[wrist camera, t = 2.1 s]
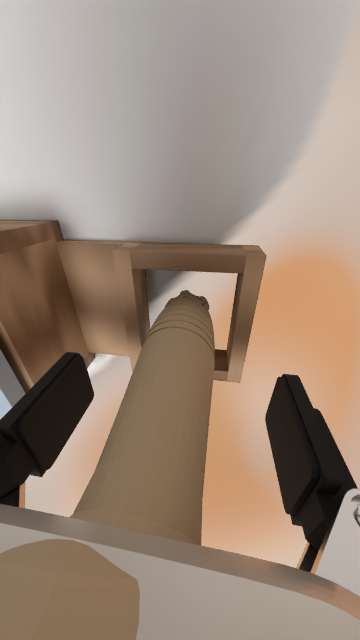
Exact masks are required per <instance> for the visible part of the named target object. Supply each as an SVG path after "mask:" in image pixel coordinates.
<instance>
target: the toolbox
mask: <svg viewBox="0 0 360 640" xmlns="http://www.w3.org/2000/svg"><path fill="white" fill-rule="evenodd" d="M265 260H266V255H265V253H264V252H263V251H262V250H261V248H260V247H259V246H254V245H252V246H251V245H217V244H181V243H145V242H108V241H72V240H63V237H62V234H61V230H60V227H59V223H58V221H42V220H0V349H1V351H2V353H3V355H4V356H5V358H6V360H7V362H8V363H9V365H10V367H11V369H12V371H13V372H14V374H15V376H16V378H17V379H18V381H19V383H20V385H21V386H22V388H23V390H24V392H25V394H26V393H27V392H28V391H29V390H30V389H31V388H32V387H33V386H34V385H35V383H36V382H37V381H38V380H39V379H40V378H41V377H42V376H43V375H44V374H45V373H46V372H47V371H48V370H49V369H50V368H51V367H52V366H53V365H54V364H55V363H56V362H57V361H58V360H59V359H60V358H61V357H62V356H63V355H64V354H65V353H66V352H74V353H79V354H80V355H81V356H82V357H83V358H84V361H85V364H86V368H88V366H89V365H90V364H91V362H92V361H93V360H94V358H95V354H94V353H100V354H110V355H120V356H130V360H131V366H132V371H134V368H135V365H136V362H137V360H138V357H139V354H140V351H141V349H142V346H143V344H144V342H145V339H146V337H147V335H148V333H149V331H150V323H149V311H148V300H147V289H146V278H145V269H154V270H177V271H200V272H222V273H238V276H237V283H236V290H235V298H234V304H233V311H232V318H231V325H230V332H229V339H228V345H227V350H217V349H215V361H214V363H215V365H214V375H213V380H219V381H228V382H238V383H240V381H241V376H242V371H243V366H244V362H245V357H246V352H247V347H248V342H249V337H250V333H251V327H252V323H253V318H254V313H255V308H256V304H257V299H258V294H259V289H260V284H261V279H262V275H263V270H264V265H265Z"/></svg>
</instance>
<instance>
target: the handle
mask: <svg viewBox="0 0 360 640" xmlns="http://www.w3.org/2000/svg"><path fill="white" fill-rule="evenodd" d="M208 310H209V304H208V302H207V300H206V298H205V297H203V296H201V297H199V296H195V295H193V294H191V293H190V292H189V291H188V290H185V291H182V292H181V293H180V295H179V296H178V297H176V298H171V299H170V300H169V301H168V303H167V305H166V306H165V308H164V310H163V311H162V312H161V314H160V315H159V316H158V318H157V319H156V321H155V322H154V324H153V326H152V327H151V329H150V331H149V333H148V335H147V337H146V339H145V342H144V344H143V346H142V349H141V351H140V354H139V357H138V360H137V362H136V365H135V368H134V371H133V374H132V376H131V379H130V382H129V384H128V387H127V390H126V393H125V395H124V398H123V400H122V403H121V406H120V408H119V411H118V413H117V416H116V418H115V421H114V423H113V426H112V429H111V431H110V434H109V436H108V439H107V441H106V444H105V447H104V449H103V452H102V454H101V457H100V460H99V462H98V465H97V467H96V470H95V472H94V474H93V476H92V478H91V480H90V482H89V484H88V486H87V488H86V490H85V492H84V493H83V496H82V497H81V499H80V501H79V503H78V505H77V507H76V509H75V511H74V513H73V515H72V516H70V517H69V518H74V519H79V520H83V521H88V522H93V523H98V524H102V525H107V526H112V527H116V528H121V529H126V530H131V531H135V532H140V533H145V534H149V535H154V536H159V537H163V538H168V539H173V540H177V541H182V542H186V543H191V544H196V545H200V546H201V525H202V497H203V485H204V473H205V461H206V450H207V438H208V426H209V416H210V405H211V395H212V385H213V375H214V365H215V363H214V361H215V346H214V332H213V325H212V320H211V317H210V314H209V312H208ZM139 603H140V590H139V585H138V580H137V579H135V578H134V577H132V576H131V575H129V574H128V573H126V572H125V571H123V570H122V569H120V568H119V567H117V566H116V565H114V564H113V563H111V562H110V561H109V560H108V559H106V558H105V557H104V556H103V555H101V554H100V553H98V552H97V551H95V550H94V549H93V548H91V547H90V546H88V545H86V544H83V543H80V542H77V541H74V540H66V539H46V540H42V541H37V542H33V543H28V544H24V545H21V546H18V547H15V548H12V549H9V550H7V551H5V552H2V553H0V640H136V636H137V631H138V625H139Z"/></svg>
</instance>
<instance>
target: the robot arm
mask: <svg viewBox="0 0 360 640" xmlns="http://www.w3.org/2000/svg"><path fill="white" fill-rule="evenodd" d="M93 397H94V392H93V388H92V385H91V381H90V378H89V375H88V371H87V368H86V364H85V361H84V358H83V357H82V356H81V355H80V354H79V353H74V352H66V353H65V354H64V355H63V356H62V357H61V358H60V359H59V360H58V361H57V362H56V363H55V364H54V365H53V366H52V367H51V368H50V369H49V370H48V371H47V372H46V373H45V374H44V375H43V376H42V377H41V378H40V379H39V380H38V381H37V382H36V383H35V385H34V386H33V387H32V388H31V389H30V390H29V391H28V392H27V393H26V394H25V395H24V396H23V397H22V398H21V399H20V400H19V401H18V402H17V403H16V404H15V405H14V406H13V407H12V408H11V409H10V410H9V411H8V412H7V413H6V414H5V415H4V416H3V417H2V418H1V419H0V553H2V552H5V551H7V550H9V549H12V548H15V547H18V546H21V545H24V544H28V543H33V542H37V541H42V540H46V539H66V540H74V541H77V542H80V543H83V544H86V545H88V546H90V547H91V548H93V549H94V550H95V551H97V552H98V553H100V554H101V555H103V556H104V557H105V558H106V559H108V560H109V561H110V562H111V563H113V564H114V565H116V566H117V567H119V568H120V569H122V570H123V571H125V572H126V573H128V574H129V575H131V576H132V577H134V578H135V579H137V580H138V585H139V590H140V603H139V625H138V631H137V636H136V640H360V489H358V488H357V486H356V484H355V482H354V480H353V478H352V476H351V474H350V472H349V470H348V467H347V465H346V463H345V461H344V459H343V457H342V455H341V453H340V451H339V449H338V447H337V445H336V443H335V441H334V438H333V437H332V435H331V432H330V430H329V428H328V426H327V424H326V422H325V420H324V418H323V416H322V414H321V412H320V411H319V410H318V409H315V408H313V406H312V404H311V402H310V400H309V398H308V396H307V393H306V391H305V389H304V387H303V385H302V383H301V380H300V378H299V377H298V376H297V375H288V374H283V375H282V377H278V378H277V381H276V384H275V388H274V391H273V394H272V397H271V400H270V403H269V407H268V410H267V413H266V418H265V419H266V426H267V431H268V435H269V440H270V444H271V449H272V454H273V458H274V463H275V468H276V472H277V477H278V481H279V485H280V491H281V495H282V499H283V504H284V509H285V511H286V513H287V514H290V515H291V519H292V524H293V525H298V526H302V527H303V531H304V535H305V538H306V540H307V541H308V542H307V545H306V547H305V549H304V552H303V554H302V556H301V558H300V561H299V563H298V565H297V568H293V567H290V566H286V565H283V564H278V563H274V562H270V561H266V560H262V559H258V558H253V557H249V556H245V555H241V554H237V553H232V552H227V551H223V550H218V549H214V548H209V547H205V546H200V545H196V544H191V543H186V542H182V541H177V540H173V539H168V538H163V537H159V536H154V535H149V534H145V533H140V532H135V531H131V530H126V529H121V528H116V527H112V526H107V525H102V524H98V523H93V522H88V521H83V520H79V519H74V518H69V517H64V516H59V515H54V514H49V513H44V512H40V511H35V510H30V509H25V480H26V479H27V478H28V476H29V475H33V476H39V477H42V476H43V474H44V473H45V471H46V470H48V469H50V468H51V466H52V465H53V464H54V462H55V460H56V459H57V457H58V455H59V454H60V452H61V451H62V449H63V447H64V446H65V444H66V442H67V441H68V439H69V437H70V436H71V434H72V433H73V431H74V429H75V428H76V426H77V424H78V423H79V421H80V419H81V418H82V416H83V415H84V413H85V411H86V410H87V408H88V406H89V405H90V403H91V402H92V400H93Z"/></svg>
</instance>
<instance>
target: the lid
mask: <svg viewBox="0 0 360 640" xmlns="http://www.w3.org/2000/svg"><path fill="white" fill-rule="evenodd" d="M24 395H25V392H24V390H23V388H22V386H21V385H20V383H19V381H18V379H17V378H16V376H15V374H14V372H13V371H12V369H11V367H10V365H9V363H8V362H7V360H6V358H5V356H4V355H3V353H2V351H1V349H0V419H1V418H2V417H3V416H4V415H5V414H6V413H7V412H8V411H9V410H10V409H11V408H12V407H13V406H14V405H15V404H16V403H17V402H18V401H19V400H20V399H21V398H22V397H23V396H24Z"/></svg>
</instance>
